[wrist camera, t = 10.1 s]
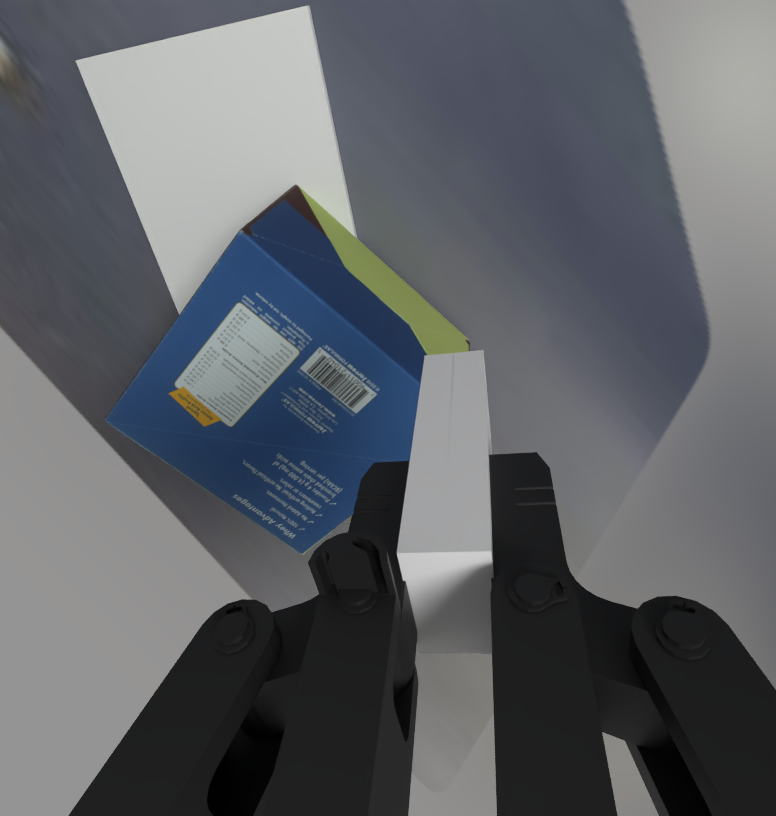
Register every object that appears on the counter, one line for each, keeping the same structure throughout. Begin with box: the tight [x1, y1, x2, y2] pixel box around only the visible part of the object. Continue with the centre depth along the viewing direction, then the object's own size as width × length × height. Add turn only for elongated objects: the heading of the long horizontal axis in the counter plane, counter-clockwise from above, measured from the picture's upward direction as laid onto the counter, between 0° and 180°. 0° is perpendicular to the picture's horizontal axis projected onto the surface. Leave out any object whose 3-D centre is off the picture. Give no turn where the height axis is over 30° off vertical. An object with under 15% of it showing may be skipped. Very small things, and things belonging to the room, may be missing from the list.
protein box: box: [105, 185, 470, 555], centre depth 35 cm, size 10×15×16 cm
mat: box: [76, 6, 357, 314], centre depth 35 cm, size 20×14×1 cm
